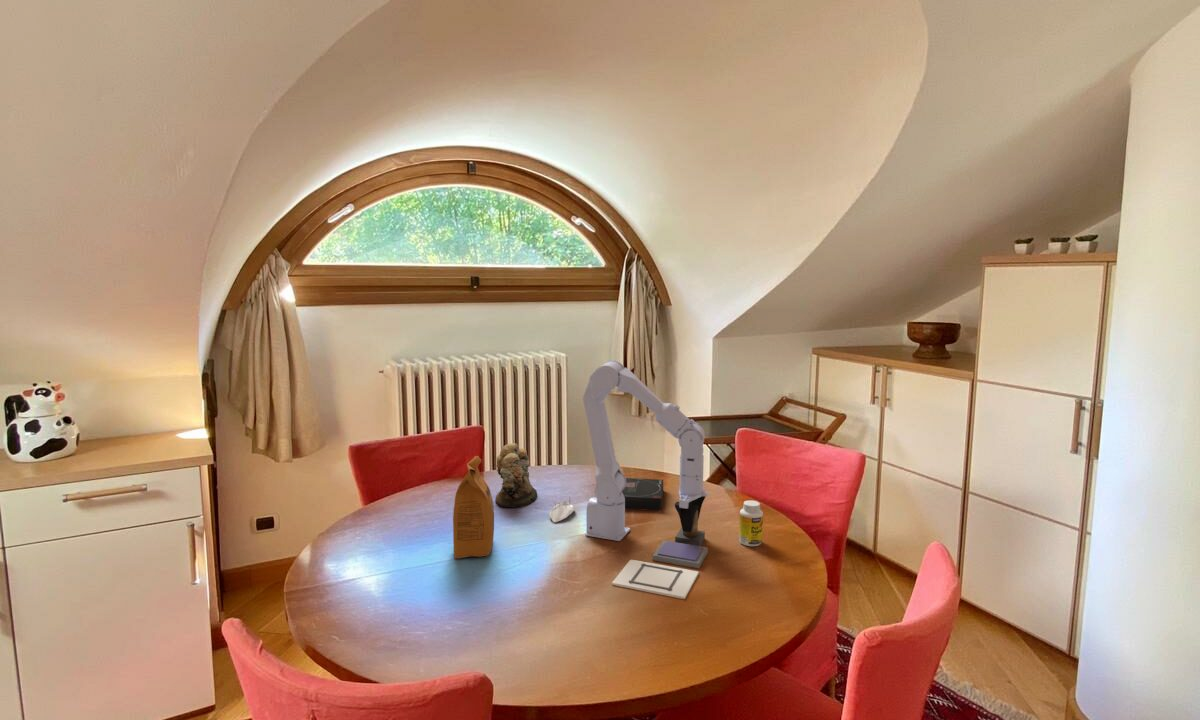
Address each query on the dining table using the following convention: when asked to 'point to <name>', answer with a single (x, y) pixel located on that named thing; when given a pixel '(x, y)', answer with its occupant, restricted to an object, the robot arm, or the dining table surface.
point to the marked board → (656, 578)
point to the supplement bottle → (751, 524)
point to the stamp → (691, 534)
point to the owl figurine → (514, 477)
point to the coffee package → (473, 515)
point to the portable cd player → (643, 493)
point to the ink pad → (680, 554)
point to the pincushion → (561, 511)
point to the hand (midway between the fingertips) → (690, 526)
